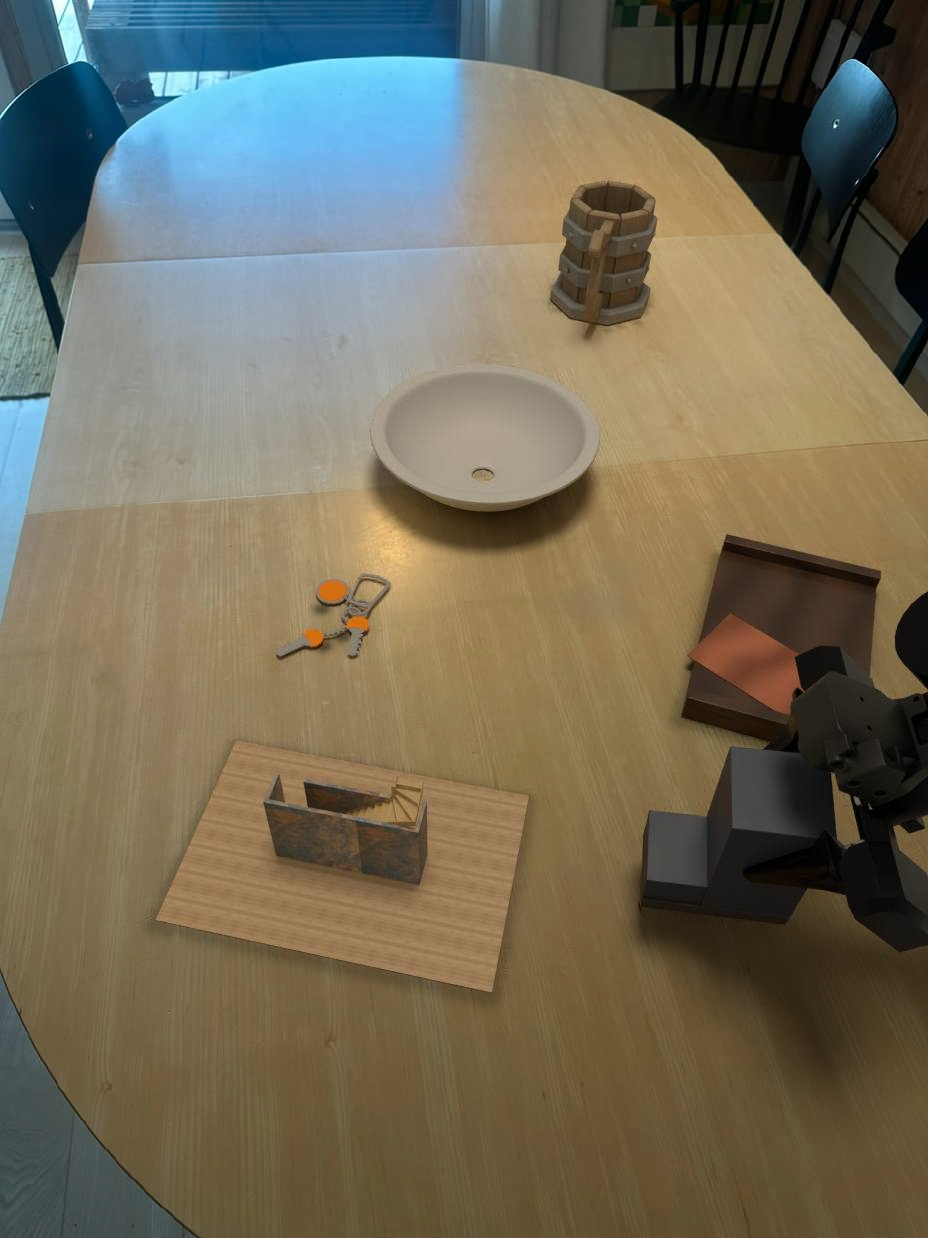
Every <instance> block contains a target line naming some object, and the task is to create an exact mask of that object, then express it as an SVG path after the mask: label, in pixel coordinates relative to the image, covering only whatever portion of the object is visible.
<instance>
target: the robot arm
mask: <svg viewBox="0 0 928 1238" xmlns="http://www.w3.org/2000/svg"><path fill="white" fill-rule="evenodd" d="M894 649H895V652H896V655H897V657H898V658H899V660H900V661H901V663H902V664H903V665H904V666H905V668H906V669H907V670H908V671H909V672H910V673H911V674H912V675H913V676H914V677H915V678H916V680H918V681H919V682H920V684H921V685H922V686H923V687H925V689H926V690H927V691H925V692H924V693H920V692H916V693H913V694H911V695H908V696H905V697H900V698H893V699H892V698H891V697H888V696H887V694H885V693H884V692H882V690H880V689H877V688H876V687H875V685H874V680H873V678H871V677H869V676H868V675H867V674H866V673H865V672H864V671H863V670H862V669H861V668H860V667H859V666H858V665H857V664H856V663H855V662H854V661H853V660H852V659H851V658H850V657H849V655H848V654H847V653H846V652H845V651H844V650H843V649H842V648H841V647H837V646H827V645H819V646H816V647H814V648H812V649H810V650H808V651H806V652H803V653H801V654H799V655H797V656H796V657H795V661H796V666H797V671H798V675H799V680H800V685H801V688H802V689H803V690H804V692H803V691H802V690H801V689H799V688H796V689H795V690H794V691H793V693H792V698H793V701H792V702H791V704H790V709H791V712H790V716H789V720H788V722H787V724H786V726H785V727H784V728H783V729H782V730H781V731H780V732H779V733H778V735H777V736H776V737H775V738H774V739H773V740H772V741H769V743H767V745H766V746H765V747H763V748H762V749H763V750H773V751H782V752H792V753H800V755H801V756H802V758H803V759H804V761H805V762H806V763H807V764H808V765H810V766H811V767H813V768H815V769H817V770H820V771H830V772H831V774H832V773H833V774H834V777H835V781H836V786H837V789H838V791H839V792H841V793H844V794H846V795H849V798H850V802H851V805H852V811H853V815H854V819H855V823H856V827H857V832H858V836H859V840H856V841H854V842H851V843H849V844H843V843H842V842H841V841H840V840H839V839H838V838H837V839H836V838H835V837H833V836H832V835H831V834H830V833H829V832H827V831H826V830H824V831H823V832H822V833H821V835H820V836H819V838H818V839H817V841H816V842H815V843H814V845H813V846H811V847H809V848H806V849H803V850H800V851H796V852H793V853H790V854H787V855H784V856H781V857H777V858H774V859H771V860H768V861H765V862H762V863H759V864H756V865H753V866H751V867H749V868H747V869H745V870H744V871H743V875H744V877H745V878H746V879H748V880H749V881H751V882H754V883H763V884H772V885H781V886H790V887H799V888H808V889H811V890H816V891H824V892H829V893H834V894H838V895H843V896H845V899H846V903H847V907H848V908H849V911H850V912H851V914H852V916H853V918H854V920H856V922H857V923H859V924H860V925H862V926H863V927H865V928H866V929H867V930H869V931H870V932H871V933H872V934H874V935H875V936H876V937H878V938H879V939H881V940H882V941H883V942H884V943H886V944H888V945H889V946H890V947H891V948H892V949H894V950H895V951H897V952H898V953H904V952H908V951H911V950H915V949H920V948H923V947H928V873H927V872H926V870H924V869H923V868H921V866H919V865H918V864H917V863H916V862H914V860H913V859H912V858H910V857H909V856H908V855H906V854H905V853H904V852H903V851H902V850H901V849H900V847H899V844H898V839H897V836H896V832H895V829H894V827H896V826H900V827H901V828H902V829H903V830H904V831H906V833H907V834H909V835H910V834H913V833H918V832H920V831H923V830H926V825H925V821H924V818H923V817H927V816H928V591H925V592H924V593H922V594H921V595H920V596H918V597H917V598H916V599H915V600H914V601H913V602H912V603H911V604H910V605H909V606H908V607H907V608H906V610H905V611H904V612H903V613H902V616H901V617H900V619H899V621H898V623H897V625H896V628H895V632H894ZM808 889H807V890H808Z"/></svg>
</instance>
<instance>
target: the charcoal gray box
mask: <svg viewBox="0 0 928 1238" xmlns="http://www.w3.org/2000/svg"><path fill="white" fill-rule="evenodd" d="M728 749H729V750H728V751H727V756H726V758H725V761H724V764H723V767H722V770H721V773H720V776H719V779H718V782H717V785H716V787H715V790H714V793H713V796H712V799H711V802H710V805H709V808H708V810H707V813H706V815H699V814H698V815H697V814H688V813H680V812H670V811H661V810H653V809H652V810H651V809H649V810H648V814H647V818H646V822H645V826H644V828H643V829H644V830H643V834H642V849H641V851H642V852H641V853H642V854H641V876H640V900H639V901H640V902H639V903H640V904H639V906H640V908H644V909H653V910H661V911H669V912H674V913H675V912H676V913H684V914H692V915H700V916H709V917H715V918H724V919H731V920H741V921H747V922H748V921H749V922H756V923H763V924H772V925H780V926H786V925H787V923H788V922H789V920H790V919H791V917H792V915H793V913H794V912H795V911H796V908H797V907H798V905H799V904H800V902H801V900H802V899H803V897H804V895H805V894H806V892H807V890H808V888H799V887H790V886H781V885H772V884H763V883H754V882H751V881H749V880H748V879H746V878H745V877H744V875H743V871H744V870H745V869H747V868H749V867H751V866H753V865H756V864H759V863H762V862H765V861H768V860H771V859H774V858H777V857H781V856H784V855H787V854H790V853H793V852H796V851H800V850H803V849H806V848H809V847H811V846H813V845H814V843H815V842H816V841H817V839H818V838H819V836H820V835H821V833H822V832H823V831H824V830H826V831H827V832H829V833H830V834H831V835H832V836H833V837H835V838H836V839H837V840H838V834H837V822H836V812H835V801H834V800H835V799H834V789H833V778H832V772H830V771H820V770H817V769H815V768H813V767H811V766H810V765H808V764H807V763H806V762H805V761H804V759H803V758H802V756H801V755H800V753H792V752H782V751H773V750H763V749H764V748H752V747H743V746H742V747H741V746H734V745H733V746H732V745H731V746H729V748H728Z"/></svg>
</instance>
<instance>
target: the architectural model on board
mask: <svg viewBox="0 0 928 1238" xmlns="http://www.w3.org/2000/svg"><path fill="white" fill-rule="evenodd" d="M529 798H530V795H527V794H522V793H521V794H520V793H516V792H511V791H506V790H501V789H496V788H490V787H485V786H481V785H480V786H479V785H475V784H469V783H463V782H459V781H453V780H447V779H443V778H437V777H433V776H426V775H422V774H416V773H411V772H405V771H400V770H396V769H391V768H390V769H389V768H384V767H381V766H380V767H379V766H375V765H369V764H363V763H358V762H353V761H347V760H342V759H337V758H332V757H326V756H323V755H322V756H321V755H316V754H311V753H305V752H300V751H295V750H289V749H284V748H279V747H274V746H269V745H264V744H263V745H262V744H259V743H254V742H253V743H252V742H247V741H242V740H235V742H234V744H233V747H232V748H231V751H230V753H229V755H228V758H227V759H226V762H225V764H224V767H223V769H222V771H221V773H220V776H219V778H218V779H217V782H216V784H215V787H214V789H213V791H212V793H211V796H210V797H209V801H208V802H207V804H206V807H205V809H204V811H203V813H202V815H201V818H200V819H199V822H198V823H197V827H196V828H195V831H194V833H193V836H192V838H191V840H190V842H189V845H188V847H187V848H186V849H187V850H186V851H185V853H184V856H183V858H182V860H181V863H180V865H179V867H178V869H177V871H176V873H175V876H174V878H173V880H172V882H171V885H170V886H169V889H168V891H167V893H166V895H165V898H164V900H163V902H162V904H161V906H160V909H159V911H158V912H157V915H156V918H155V921H159V922H163V923H167V924H172V925H176V926H182V927H185V928H190V929H195V930H200V931H204V932H209V933H212V934H213V933H214V934H217V935H218V934H219V935H223V936H227V937H233V938H237V939H242V940H247V941H250V942H251V941H252V942H256V943H260V944H266V945H270V946H275V947H278V948H284V949H288V950H293V951H296V952H302V953H306V954H312V955H317V956H321V957H324V958H325V957H326V958H330V959H333V960H339V961H343V962H348V963H353V964H357V965H363V966H367V967H372V968H377V969H381V970H384V971H385V970H386V971H390V972H395V973H400V974H404V975H409V976H413V977H419V978H423V979H428V980H432V981H436V982H441V983H446V984H451V985H455V986H460V987H463V988H464V987H465V988H470V989H473V990H477V991H478V990H479V991H483V992H487V993H493V991H494V990H493V989H494V984H495V980H496V973H497V969H498V962H499V958H500V954H501V953H500V952H501V947H502V941H503V936H504V931H505V925H506V920H507V917H508V910H509V904H510V899H511V895H512V889H513V884H514V878H515V873H516V867H517V862H518V857H519V851H520V847H521V842H522V836H523V830H524V825H525V819H526V814H527V809H528V803H529Z"/></svg>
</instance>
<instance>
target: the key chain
mask: <svg viewBox="0 0 928 1238" xmlns="http://www.w3.org/2000/svg"><path fill="white" fill-rule="evenodd" d="M363 578H372V579H376V580H378V581H381V582H383V583H385V585H384V587H383V588H382V589H381V590H380V591H379V592H378V593H377V595H375V597H374V598H373V599H372V600H371V601H369V600H367V599H363V598H360V599H356V597H355V596H354V593H355V591H356V589H357V587H358V585H359V583H360V581H361V580H362V579H363ZM391 585H392V583H391V581H390V580H389V579H387V578H385V577H383V576H381V575H378V574H373V573H366V572H365V573H364V572H363V573H360V574H359V575H358V577H357V580H356V582H355V584H354V586H353V588H352V589H350V586H349V585H348V583H346V582H345V581H344V580H341V579H337V578H329V579H327V580H324V581H322V582H321V583H319V584H318V585H317V587H316V589H315V596H316V598H317V600H318V601H320V602H321V603H322V604H325V605H338V604H342V603H343V602H345V601H346V602H348V603H349V605H348V607H346V608H344V609H343V610H342V612H341V618H342V620H343V621H344V622H346V624H345V625H344V626H343V627H341V628H340V629H338V630H336V631H333V632H325V633H324V632H322V631H320V630H319V629H313V628H311V629H306V630H305V631H304V632H302V633H301V636H300V637H298V638H297V639H296V640H295V641H289V642H287V643H288V644H285V645H283V647H277V650H275V652H276V656H278V657H280V658H281V657H283V656H285V655H288V654H290V653H292V652H294V651H296V650H299V649H300V648H303V647H310V648H316V647H318V646H320V645H321V644H322V643H323V641H324V637H333V636H337V635H339V634H342V633H343V632H345V631H346V630H348V631H349V632H350V633H351V635H350V641H349V645H348V649H347V653H346V654H347V656H350V657H355V656H357V655H358V654H359V650H358V648H360V646H361V645H362V637H364V633H365V632H368V630H369V628H370V624H369V621H368V619H367V618H366V617H364V616H366V615H367V614H368V613H369V612H370V611H371V609H372V606H373V605H374V604H375V603H376V602H378V600H379V599H380V598H381V597H382V596H383V595H384V594H385V593H386V592H387V590H389V588H390V586H391ZM350 590H351V592H350ZM356 606H357V607H356ZM359 608H363V609H365V610H363V611H362V610H361V609H359ZM353 611H356V612H353ZM346 613H348V614H349V615H351V616H352V617H351V618H349V619H347V618H346V616H345V615H346Z"/></svg>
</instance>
